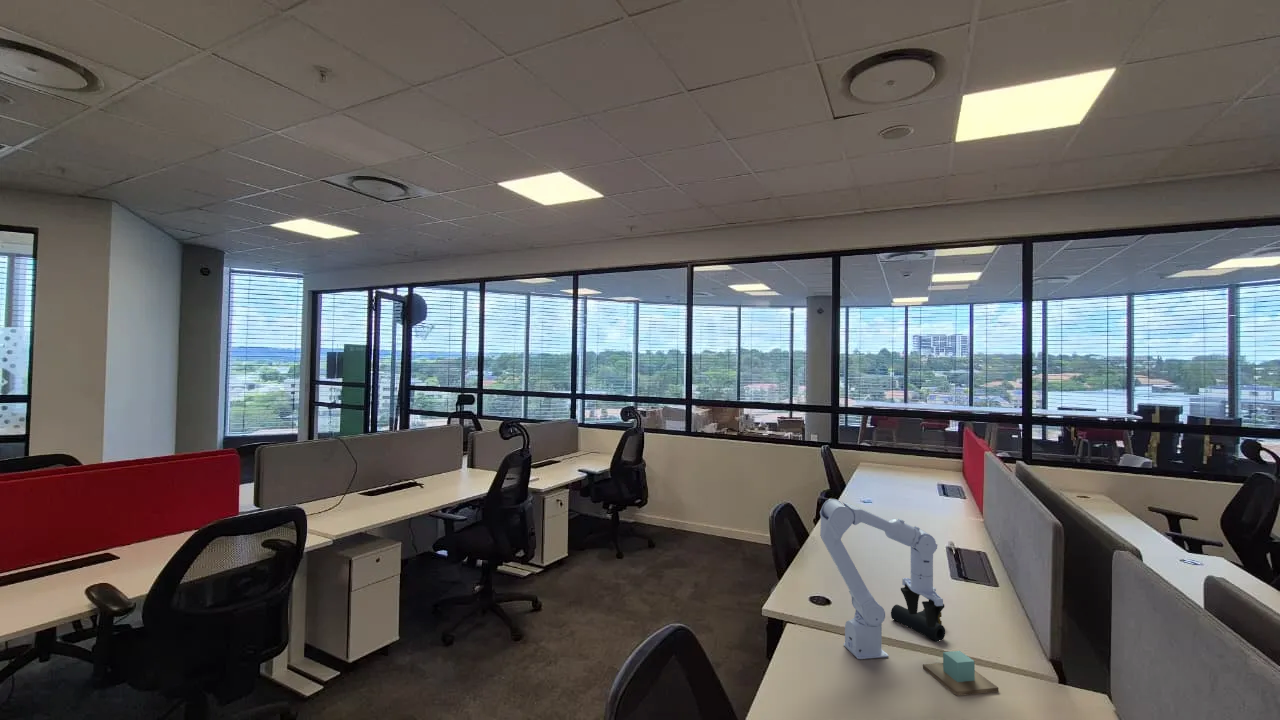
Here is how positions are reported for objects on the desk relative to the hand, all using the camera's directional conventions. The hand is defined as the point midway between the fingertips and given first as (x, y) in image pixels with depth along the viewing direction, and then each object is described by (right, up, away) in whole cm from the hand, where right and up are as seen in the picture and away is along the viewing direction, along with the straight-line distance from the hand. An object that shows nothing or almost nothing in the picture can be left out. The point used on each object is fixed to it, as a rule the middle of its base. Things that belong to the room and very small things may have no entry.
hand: (921, 620), depth 148 cm
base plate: (+3, -9, -13) cm, 16 cm away
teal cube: (+3, -8, -13) cm, 15 cm away
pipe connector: (+9, -10, +15) cm, 20 cm away
